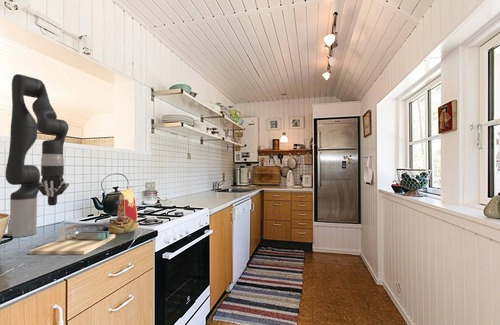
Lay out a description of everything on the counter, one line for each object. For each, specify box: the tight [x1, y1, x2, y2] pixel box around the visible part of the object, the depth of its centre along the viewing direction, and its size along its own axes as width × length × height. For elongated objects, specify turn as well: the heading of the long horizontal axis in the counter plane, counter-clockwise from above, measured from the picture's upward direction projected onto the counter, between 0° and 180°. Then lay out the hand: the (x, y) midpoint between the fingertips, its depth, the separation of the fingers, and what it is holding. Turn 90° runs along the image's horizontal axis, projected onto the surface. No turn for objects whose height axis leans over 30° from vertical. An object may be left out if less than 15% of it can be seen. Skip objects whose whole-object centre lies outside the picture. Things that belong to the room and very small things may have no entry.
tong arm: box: [76, 232, 106, 240], centre depth 102 cm, size 12×2×2 cm, turn 88°
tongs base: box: [72, 230, 109, 240], centre depth 103 cm, size 15×3×3 cm, turn 91°
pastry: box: [107, 216, 139, 235], centre depth 123 cm, size 13×15×8 cm
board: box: [28, 234, 116, 256], centre depth 99 cm, size 20×21×2 cm
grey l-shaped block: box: [57, 223, 79, 241], centre depth 103 cm, size 3×7×5 cm, turn 1°
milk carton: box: [116, 186, 138, 222], centre depth 141 cm, size 9×9×20 cm
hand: (52, 205), depth 103 cm, fingers closed
